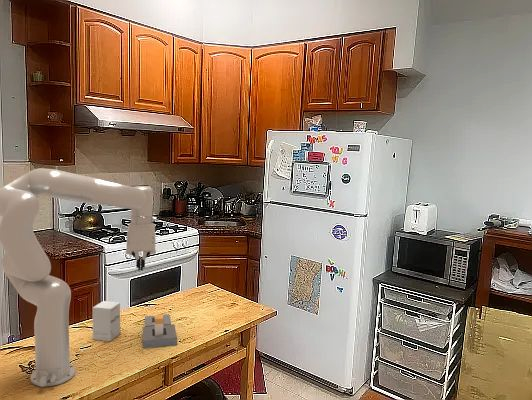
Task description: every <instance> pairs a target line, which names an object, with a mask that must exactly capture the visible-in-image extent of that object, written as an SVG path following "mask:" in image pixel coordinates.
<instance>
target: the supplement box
mask: <svg viewBox="0 0 532 400" xmlns="http://www.w3.org/2000/svg"><path fill="white" fill-rule="evenodd" d="M120 334H121V303H120V302H118V301H109V300H108V301H107V300H103V301H101V302H99V303H97V304H96V305H94V306H93V307H92V340H96V341H103V342H112V341H113V339H115V338H116V337H117V336H119V335H120Z"/></svg>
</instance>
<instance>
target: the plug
mask: <svg viewBox="0 0 532 400" xmlns="http://www.w3.org/2000/svg"><path fill="white" fill-rule="evenodd" d="M163 315H164V313H163V314H154V316H155V322H154V323H155V336H159V335H163Z"/></svg>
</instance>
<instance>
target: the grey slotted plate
mask: <svg viewBox="0 0 532 400" xmlns="http://www.w3.org/2000/svg"><path fill="white" fill-rule="evenodd" d="M171 324H172V321H171V314H170V313H169V314H163V325H171ZM148 326H155V315H145V316H144V327H148Z"/></svg>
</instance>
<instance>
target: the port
mask: <svg viewBox="0 0 532 400" xmlns="http://www.w3.org/2000/svg"><path fill="white" fill-rule="evenodd" d="M171 346H178V336H177V330H176V325H175V324H173V323H171V325H163V335H159V336H155V326H148V327H145V326H142V349H152V348H162V347H163V348H164V347H171Z"/></svg>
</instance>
